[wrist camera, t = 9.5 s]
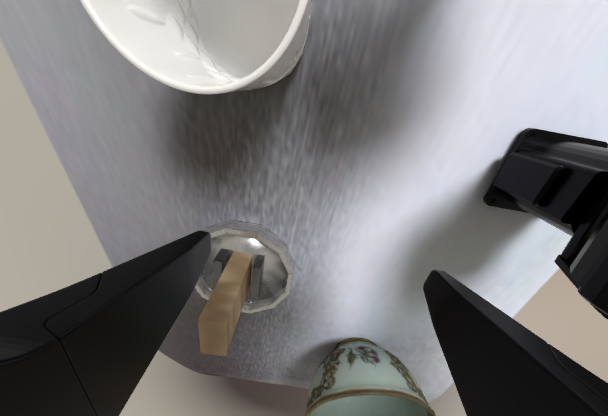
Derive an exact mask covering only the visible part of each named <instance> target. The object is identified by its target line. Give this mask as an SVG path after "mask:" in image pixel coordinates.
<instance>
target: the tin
mask: <svg viewBox="0 0 608 416" xmlns="http://www.w3.org/2000/svg"><path fill="white" fill-rule="evenodd" d="M204 231H206V232H209V233H210V235H211V252H210V255H209V257H208V260H207V262H206V264H205V266H204V268H203V271H202V273H201V275H200V277H199V280H198V282H197V284H196V286H195V289H196V290H197V292H198V293H199V294H200V295H201V297H203V298H205V299H206V300H209V298H210V296H211V294H212V292H213V290H214V288H215V286H216V284H217V282H218V280H219V279H220V277H221V275H222V273H223V271H224V269H225V267H226V265H227V263H228V261H229V259H230V258H231V256H232V254H233V252H239V253H245V254H252V255H253V258H252V274H251V284H250V287H249V290H248V293H247V296H246V299H245V302H244V305H243V307H242V310H241V312H244V313H254V312H259V311H263V310H267V309H272V308H274V307H275V306H276V305H278V304H279V303H280V302H281V301H282V300H283V299H284V298H286V297H287V296H288V295H289V294H290V289H291V284H292V279H293V274H294V266H295V262H294V260H293V258H292V256H291V254H290V252H289V250H288V247H287V245H286V243H285V241H283V240H282V239H281V238H279V237H278V236H276V235H275V234H273V233H272V232H270V231H269V230H268V229H266V228H265V227H263V226H262V225H259V224H253V223H247V222H241V221H235V220H229V221H226V222H223V223H220V224H217V225H214V226H211V227H208V228H206V229H205V230H204Z"/></svg>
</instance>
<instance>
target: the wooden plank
mask: <svg viewBox="0 0 608 416" xmlns="http://www.w3.org/2000/svg"><path fill="white" fill-rule="evenodd" d="M252 258H253V255H252V254H245V253H239V252H233V254H232V256H231V258H230V259H229V261H228V263H227V265H226V267H225V269H224V271H223V273H222V275H221V277H220V279H219V280H218V282H217V284H216V286H215V288H214V290H213V292H212V294H211V296H210V298H209V300H208V301H207V303H206V305H205V307H204V309H203V311H202V313H201V315H200V317H199V319H198V328H199V339H200V351H201V353H204V354H212V355H219V356H226V354H227V351H228V348H229V345H230V342H231V339H232V336H233V333H234V331H235V328H236V325H237V322H238V319H239V316H240V313H241V310H242V307H243V305H244V302H245V299H246V296H247V293H248V290H249V287H250V284H251V274H252Z"/></svg>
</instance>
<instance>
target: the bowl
mask: <svg viewBox="0 0 608 416" xmlns="http://www.w3.org/2000/svg"><path fill="white" fill-rule="evenodd" d="M305 416H435V413H434V411H433V410H432V409H431V408H430V407H429V405H428V403H427V401H426V399H425V397H424V395H423V393H422V391H421V389H420V387H419V385H418V384H417V382H416V380H415V378H414V377H413V376H412V374H411V373H410V371H409V370H408V369H407V368H406V367H405V365H404V364H403V363H402V362H401V361H400V360H399V359H398V358H396V357H395V356H394V355H392V354H391V353H389V352H388V351H386V350H384V349H382V348H379V347H377V345H376V344H374V343H373V342H371V341H369V340H367V339H363V338H351V339H347V340H344V341H342V342H341V343H339V344H338V345H337V346H336V347H335V350H334V351H333V352H332V353H330V354H329V355H328V356H327V357H326V358H325V359H324V360H323V361H322V362H321V364H320V365H319V367H318V369H317V370H316V372H315V374H314V376H313V379H312V382H311V386H310V390H309V396H308V404H307V412H306V414H305Z"/></svg>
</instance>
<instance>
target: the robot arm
mask: <svg viewBox="0 0 608 416" xmlns="http://www.w3.org/2000/svg"><path fill="white" fill-rule="evenodd" d="M530 133H531V135H530V136H529V137H528V135H529V134H530ZM492 198H493V199H492ZM490 199H492V200H491V201H490ZM483 201H484V203H485V204H487V205H489V206H494V207H499V208H505V209H511V210H516V211H522V212H528V213H531V214H533V215H535V216H536V217H538V218H540V219H542V220H544V221H545V222H547V223H549V224H551V225H553V226H555V227H556V228H558V229H560V230H562V231H564V232H565V233H567V234H569V235H571V236H572V238H571V239H570V241H569V243H568V244H567V246H566V247H565V249H564V251H563V252H562V254H561V255H558V257H557V258H556V260H555V263H556V264H557V265H558V266H559V268H560V269H561V270H562V271H563V272H564V273H565V275H566V276H567V277H568V278H569V279H570V281H571V282H572V283H573V284H574V285H575V286H576V288H577V289H578V292H579V293H580V295H581V296H582V297H583V298H584V299H585V300H587V301H588V302H589V303H590V304H591V305H592V306H593V307H594V308H595V309H596V310H597V311H598V312H599V313H601V314H602V315H603V316H604V317H605V318H607V319H608V144H607V143H606V142H602V141H597V140H592V139H587V138H581V137H576V136H571V135H566V134H560V133H555V132H550V131H544V130H539V129H534V128H528V129H525V130H524V131H523V132H522V133H521V135H520V136H519V138H518V140H517V142H516V143H515V145H514V147H513V148H512V150H511V152H510V154H509V155H508V157H507V159H506V161H505V162H504V164H503V166H502V168H501V169H500V171H499V173H498V175H497V176H496V178H495V180H494V181H493V183H492V185H491V187H490V188H489V190H488V192H487V194H486V195H485V197H484V200H483ZM210 252H211V235H210V233H209V232H206V231H197V232H194V233H192V234H190V235H187V236H185V237H183V238H180V239H178V240H176V241H173V242H171V243H169V244H166V245H164V246H162V247H160V248H157V249H155V250H153V251H150V252H148V253H146V254H143V255H141V256H139V257H136V258H134V259H132V260H129V261H127V262H125V263H122V264H120V265H118V266H115V267H113V268H111V269H108V270H107V271H104V272H103V273H99V274H97V275H95V276H92V277H90V278H87V279H85V280H83V281H80V282H78V283H75V284H73V285H71V286H68V287H66V288H63V289H61V290H58V291H56V292H53V293H51V294H48V295H45V296H43V297H40V298H37V299H35V300H32V301H29V302H26V303H24V304H21V305H19V306H16V307H13V308H10V309H8V310H5V311H2V312H0V416H119V414H120V413H121V411H122V409H123V408H124V406H125V404H126V402H127V401H128V399H129V398H130V396H131V394H132V393H133V391H134V389H135V388H136V386H137V384H138V383H139V381H140V379H141V378H142V376H143V374H144V372H145V371H146V369H147V367H148V366H149V364H150V362H151V361H152V359H153V357H154V356H155V354H156V352H157V351H158V349H159V347H160V346H161V344H162V342H163V341H164V339H165V337H166V336H167V334H168V332H169V330H170V329H171V327H172V325H173V324H174V322H175V320H176V319H177V317H178V315H179V314H180V312H181V310H182V309H183V307H184V305H185V304H186V302H187V300H188V299H189V297H190V295H191V293H192V292H193V290H194V288H195V286H196V284H197V282H198V280H199V277H200V275H201V273H202V271H203V268H204V266H205V264H206V262H207V260H208V257H209V255H210ZM423 289H424V294H425V297H426V301H427V305H428V309H429V312H430V316H431V320H432V323H433V326H434V329H435V332H436V335H437V338H438V340H439V343H440V345H441V348H442V351H443V353H444V356H445V359H446V361H447V364H448V367H449V369H450V372H451V375H452V377H453V380H454V383H455V385H456V388H457V391H458V393H459V396H460V398H461V401H462V404H463V406H464V409H465V412H466V414H467V416H608V383H606V382H605V381H603V380H602V379H600V378H599V377H597V376H596V375H594V374H593V373H591V372H590V371H588V370H587V369H585V368H584V367H582V366H581V365H579V364H578V363H576V362H575V361H573V360H572V359H570V358H569V357H567V356H566V355H564V354H563V353H561V352H560V351H559V350H557V349H556V348H554V347H553V346H551V345H550V344H547V342H546V341H544V340H543V339H541V338H540V337H538V336H537V335H535V334H534V333H532V332H531V331H530V330H528V329H527V328H525V327H524V326H522V325H521V324H519V323H518V322H517V321H515V320H514V319H512V318H511V317H509V316H508V315H506V314H505V313H504V312H502V311H501V310H499V309H498V308H496V307H495V306H493V305H492V304H491V303H489V302H488V301H486V300H485V299H483V298H482V297H480V296H479V295H478V294H476V293H475V292H473V291H472V290H470V289H469V288H467V287H466V286H465V285H463V284H462V283H460V282H459V281H457V280H456V279H454V278H453V277H451V276H450V275H449V274H447V273H446V272H444V271H439V270H432V271H431V272H430V274H429V276H428V278H427V280H426V281H425V283H424V287H423Z"/></svg>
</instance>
